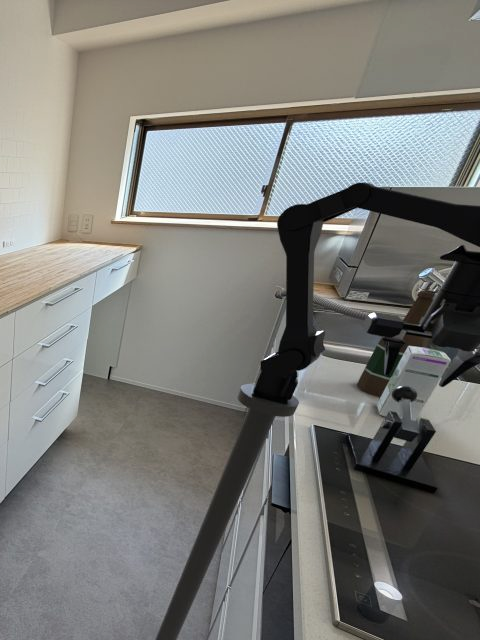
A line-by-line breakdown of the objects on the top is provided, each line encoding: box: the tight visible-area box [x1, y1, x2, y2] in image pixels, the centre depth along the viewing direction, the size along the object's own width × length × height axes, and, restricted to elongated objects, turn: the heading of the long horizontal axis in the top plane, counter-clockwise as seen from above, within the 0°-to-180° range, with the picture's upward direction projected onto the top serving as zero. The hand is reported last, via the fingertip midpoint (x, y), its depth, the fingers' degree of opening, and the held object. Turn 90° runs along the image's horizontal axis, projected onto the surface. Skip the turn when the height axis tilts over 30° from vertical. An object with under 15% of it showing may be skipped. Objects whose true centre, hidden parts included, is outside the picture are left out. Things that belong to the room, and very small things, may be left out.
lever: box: [392, 386, 420, 442], centre depth 72 cm, size 12×3×3 cm, turn 145°
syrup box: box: [376, 346, 452, 421], centre depth 85 cm, size 6×6×14 cm
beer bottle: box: [356, 289, 438, 398], centre depth 93 cm, size 8×8×24 cm
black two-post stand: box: [344, 411, 439, 494], centre depth 70 cm, size 12×10×9 cm
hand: (412, 380), depth 73 cm, fingers open, 7 cm apart
